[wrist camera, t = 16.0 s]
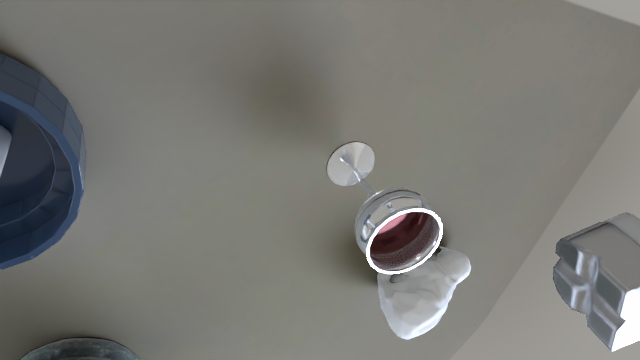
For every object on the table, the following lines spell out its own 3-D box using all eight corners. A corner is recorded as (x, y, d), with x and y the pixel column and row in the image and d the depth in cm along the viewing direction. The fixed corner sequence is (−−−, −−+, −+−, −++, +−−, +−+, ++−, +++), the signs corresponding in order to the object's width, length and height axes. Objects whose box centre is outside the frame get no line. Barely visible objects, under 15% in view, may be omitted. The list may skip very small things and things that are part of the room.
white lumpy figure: (397, 322, 53) (496, 269, 56) (358, 268, 60) (448, 223, 62) (404, 357, 57) (497, 306, 59) (367, 303, 64) (451, 259, 66)
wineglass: (334, 127, 49) (388, 202, 39) (394, 141, 52) (457, 213, 42) (307, 188, 51) (352, 271, 42) (366, 197, 55) (420, 277, 45)
